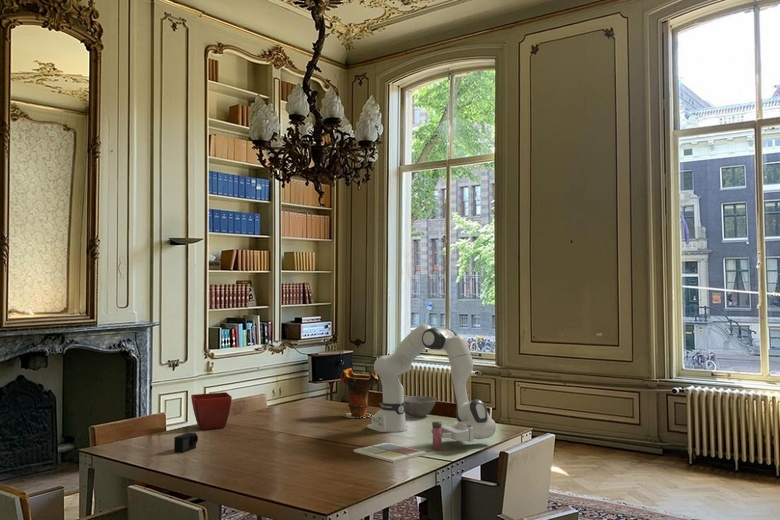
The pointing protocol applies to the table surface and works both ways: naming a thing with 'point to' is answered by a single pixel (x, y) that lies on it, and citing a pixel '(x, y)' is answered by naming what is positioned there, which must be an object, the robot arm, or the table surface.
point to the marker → (437, 435)
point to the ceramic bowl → (418, 405)
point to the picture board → (390, 452)
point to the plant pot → (211, 409)
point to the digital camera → (185, 442)
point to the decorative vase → (358, 391)
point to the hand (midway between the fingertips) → (436, 433)
